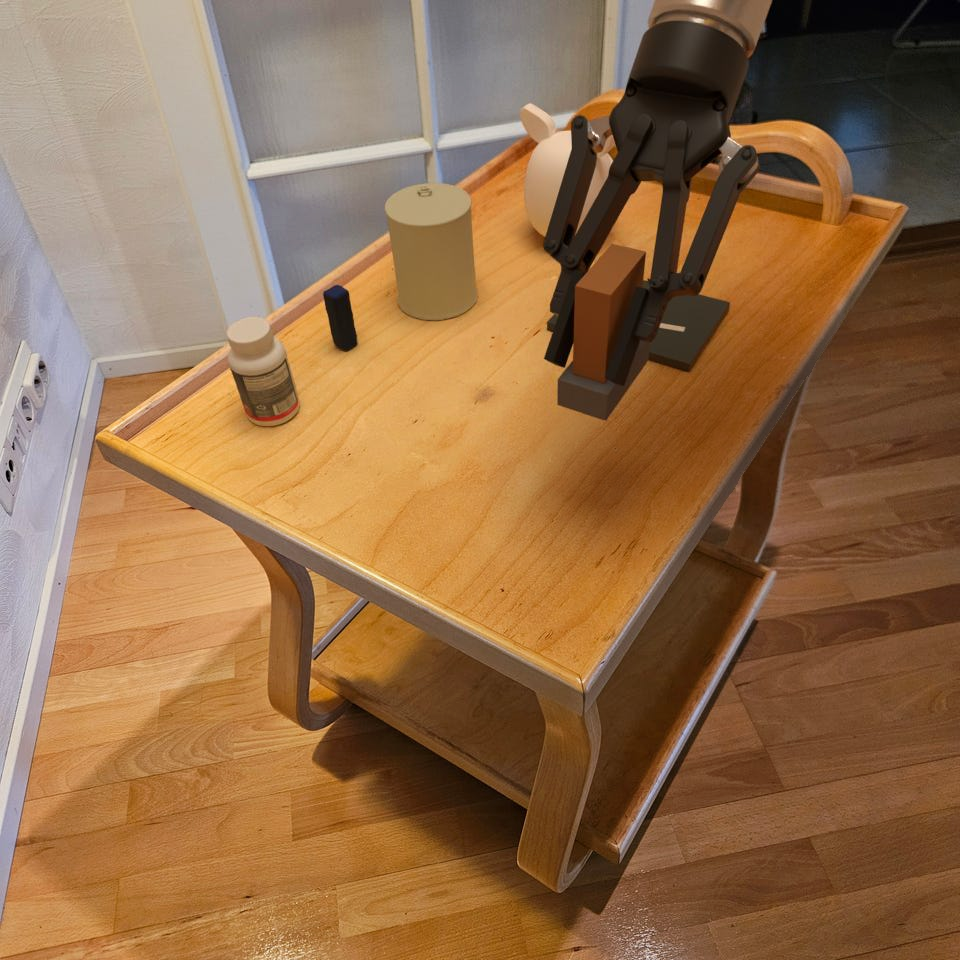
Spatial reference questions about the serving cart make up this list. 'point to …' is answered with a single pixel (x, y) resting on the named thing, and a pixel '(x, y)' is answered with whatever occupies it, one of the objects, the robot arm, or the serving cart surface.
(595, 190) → the piggy bank
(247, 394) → the pill bottle
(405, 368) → the serving cart surface
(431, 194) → the can
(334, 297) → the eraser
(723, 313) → the slate board
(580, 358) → the chalk eraser
